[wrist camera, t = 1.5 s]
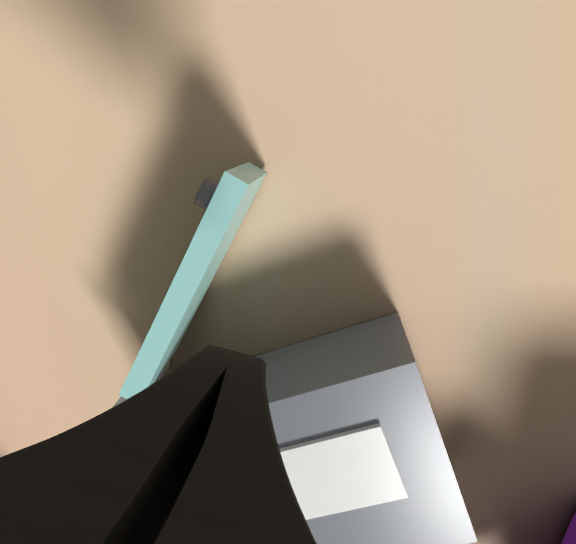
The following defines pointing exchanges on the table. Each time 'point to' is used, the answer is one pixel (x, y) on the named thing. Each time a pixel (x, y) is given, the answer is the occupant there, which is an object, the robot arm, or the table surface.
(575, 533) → the toy camera
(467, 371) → the table surface
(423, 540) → the camera case
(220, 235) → the teal bar
